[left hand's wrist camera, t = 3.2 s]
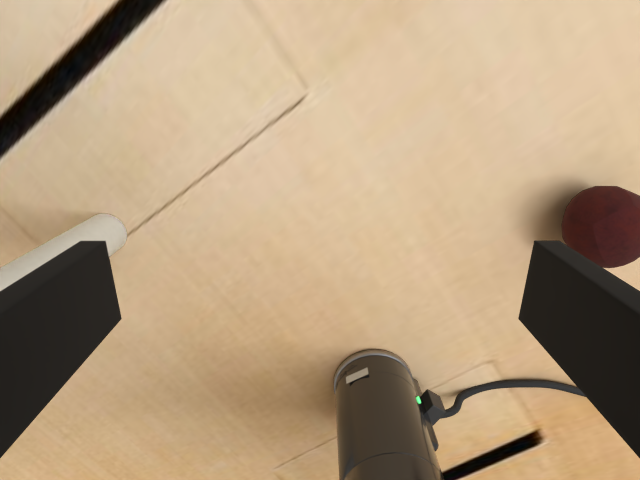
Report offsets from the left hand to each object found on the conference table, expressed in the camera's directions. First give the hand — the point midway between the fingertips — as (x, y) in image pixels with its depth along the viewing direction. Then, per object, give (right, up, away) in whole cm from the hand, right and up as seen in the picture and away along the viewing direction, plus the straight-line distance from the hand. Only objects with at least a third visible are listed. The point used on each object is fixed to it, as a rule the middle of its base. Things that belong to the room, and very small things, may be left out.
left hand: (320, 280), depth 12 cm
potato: (+27, +4, +28) cm, 39 cm away
